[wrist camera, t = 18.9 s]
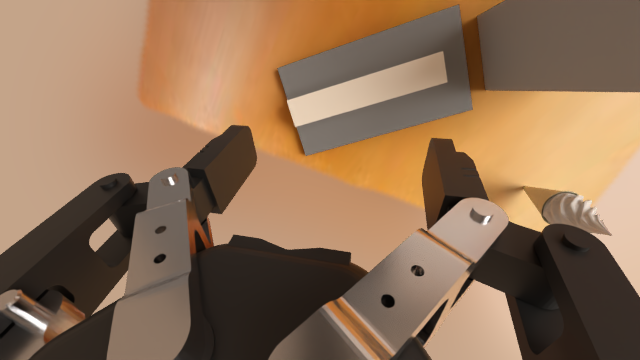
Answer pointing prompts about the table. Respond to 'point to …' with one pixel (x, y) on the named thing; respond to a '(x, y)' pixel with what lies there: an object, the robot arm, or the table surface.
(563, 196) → the ice cream cone
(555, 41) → the pedestal
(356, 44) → the mat
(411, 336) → the robot arm
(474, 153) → the table surface
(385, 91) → the slat
